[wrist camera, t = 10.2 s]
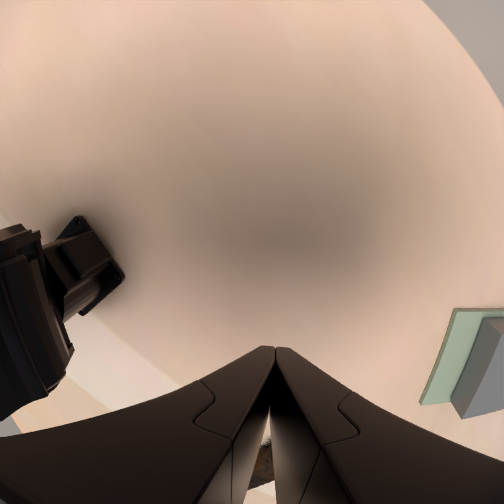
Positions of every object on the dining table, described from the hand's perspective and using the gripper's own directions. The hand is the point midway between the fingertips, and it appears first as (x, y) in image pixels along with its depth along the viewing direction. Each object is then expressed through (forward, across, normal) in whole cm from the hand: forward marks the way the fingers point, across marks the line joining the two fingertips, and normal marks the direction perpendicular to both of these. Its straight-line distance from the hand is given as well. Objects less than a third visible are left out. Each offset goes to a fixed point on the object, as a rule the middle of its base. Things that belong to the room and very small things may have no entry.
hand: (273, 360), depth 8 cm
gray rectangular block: (+11, +18, -9) cm, 23 cm away
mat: (+13, +22, -9) cm, 27 cm away
